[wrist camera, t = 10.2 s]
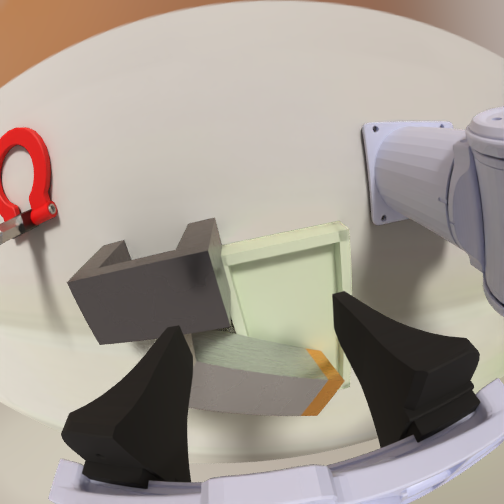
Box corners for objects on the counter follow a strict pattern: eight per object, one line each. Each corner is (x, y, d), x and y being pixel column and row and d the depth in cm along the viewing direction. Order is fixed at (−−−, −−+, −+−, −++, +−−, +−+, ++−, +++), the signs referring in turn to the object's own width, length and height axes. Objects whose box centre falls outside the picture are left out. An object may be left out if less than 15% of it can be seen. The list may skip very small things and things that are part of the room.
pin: (189, 321, 20) (196, 361, 16) (321, 350, 25) (344, 380, 21) (171, 364, 21) (175, 405, 17) (298, 384, 26) (317, 415, 22)
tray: (339, 220, 21) (348, 229, 19) (344, 374, 28) (349, 387, 26) (215, 246, 21) (213, 257, 19) (258, 394, 28) (260, 408, 26)
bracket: (214, 217, 20) (207, 250, 14) (230, 278, 22) (230, 326, 16) (103, 245, 20) (66, 282, 14) (125, 298, 22) (99, 344, 16)
